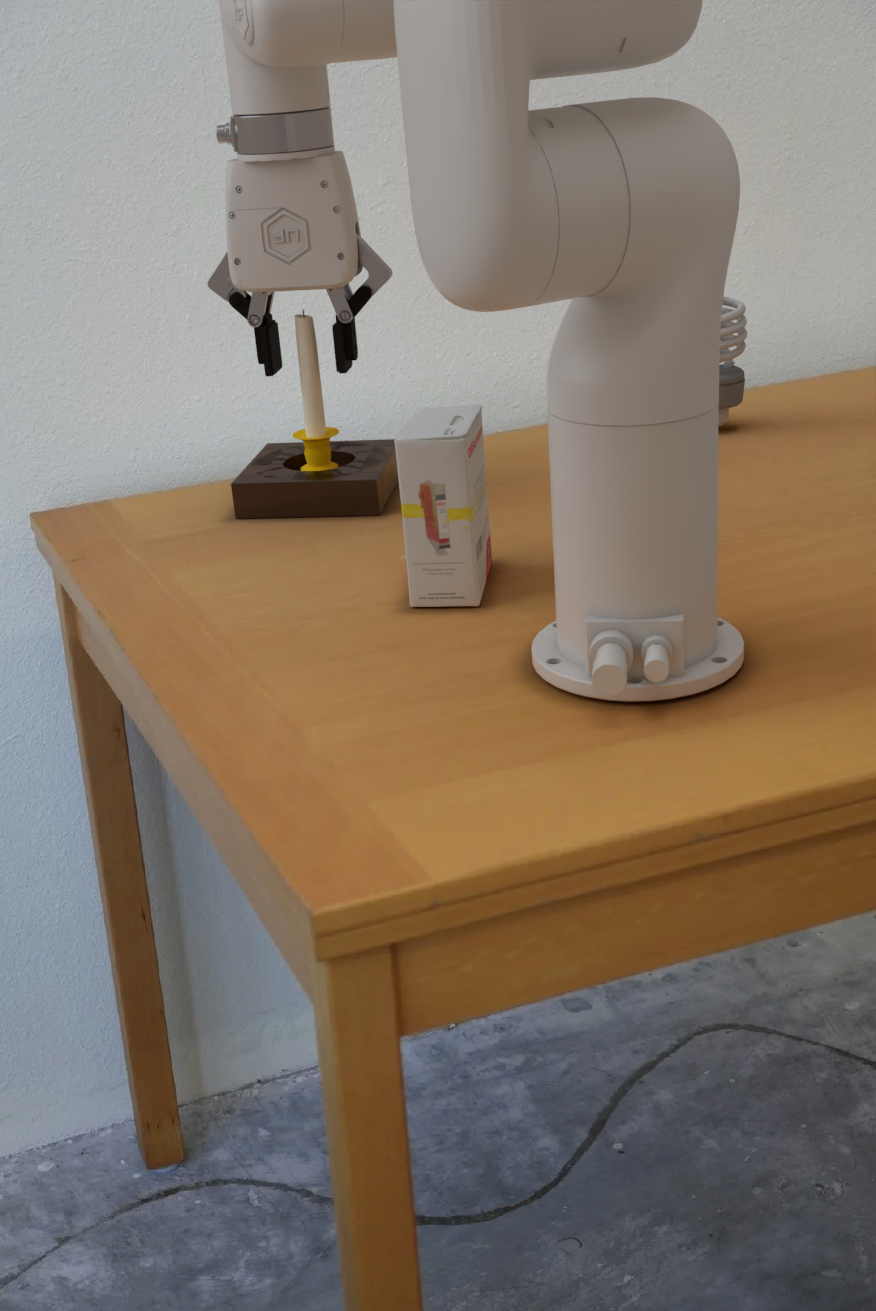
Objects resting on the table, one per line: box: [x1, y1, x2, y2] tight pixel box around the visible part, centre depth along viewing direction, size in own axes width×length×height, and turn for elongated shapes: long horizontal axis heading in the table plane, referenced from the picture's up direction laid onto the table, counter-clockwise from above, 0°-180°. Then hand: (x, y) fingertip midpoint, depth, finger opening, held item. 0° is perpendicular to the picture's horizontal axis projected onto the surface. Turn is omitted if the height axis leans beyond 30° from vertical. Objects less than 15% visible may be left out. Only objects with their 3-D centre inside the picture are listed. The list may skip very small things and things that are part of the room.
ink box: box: [394, 403, 493, 608], centre depth 100 cm, size 9×5×12 cm, turn 171°
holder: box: [230, 438, 399, 520], centre depth 124 cm, size 12×12×3 cm
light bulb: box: [718, 296, 748, 429], centre depth 132 cm, size 6×6×12 cm
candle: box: [292, 308, 340, 471], centre depth 122 cm, size 5×5×16 cm
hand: (309, 368), depth 120 cm, fingers open, 5 cm apart
